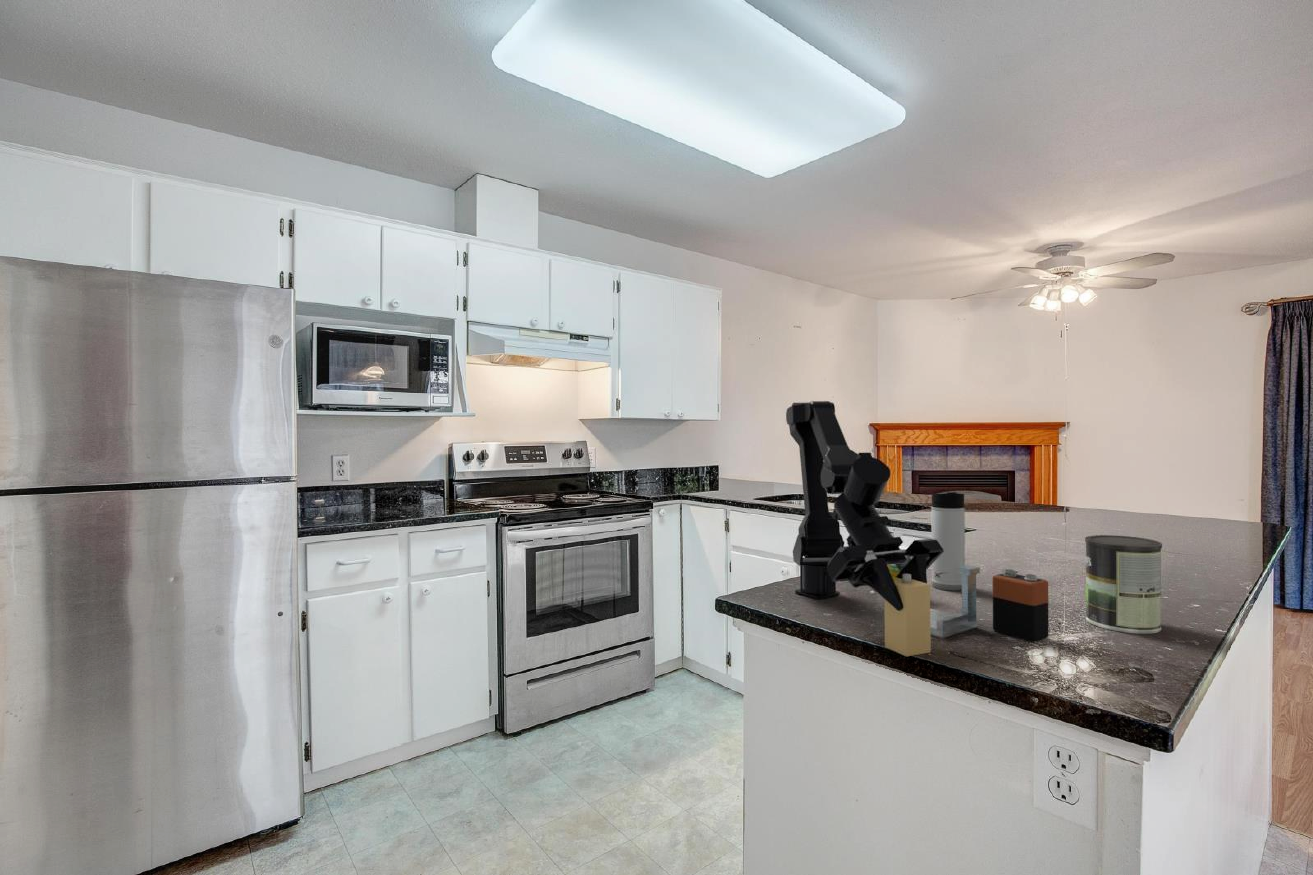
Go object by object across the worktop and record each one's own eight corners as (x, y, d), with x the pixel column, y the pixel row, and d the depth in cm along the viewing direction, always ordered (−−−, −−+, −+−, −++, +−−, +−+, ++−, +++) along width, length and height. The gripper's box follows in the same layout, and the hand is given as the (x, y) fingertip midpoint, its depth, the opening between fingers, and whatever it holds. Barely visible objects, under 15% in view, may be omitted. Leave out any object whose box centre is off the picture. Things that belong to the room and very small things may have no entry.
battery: (1007, 627, 105) (1007, 566, 105) (1049, 638, 99) (1049, 574, 99) (991, 631, 103) (991, 569, 103) (1033, 643, 97) (1032, 577, 97)
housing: (884, 646, 96) (884, 572, 96) (908, 642, 97) (907, 570, 97) (906, 656, 92) (905, 579, 91) (930, 652, 93) (930, 576, 93)
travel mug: (936, 590, 128) (936, 492, 128) (928, 583, 135) (927, 489, 135) (969, 591, 127) (969, 492, 127) (959, 584, 134) (959, 489, 134)
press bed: (893, 623, 107) (892, 564, 107) (927, 614, 112) (927, 558, 112) (945, 638, 99) (945, 575, 99) (980, 627, 104) (979, 567, 104)
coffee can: (1078, 625, 105) (1078, 540, 105) (1093, 612, 113) (1092, 533, 112) (1157, 638, 98) (1156, 548, 98) (1166, 624, 105) (1166, 539, 105)
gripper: (884, 547, 112) (933, 627, 102) (795, 556, 105) (837, 642, 95) (917, 507, 105) (973, 589, 94) (823, 514, 98) (872, 603, 88)
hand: (914, 607), depth 93 cm, fingers closed on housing, 4 cm apart
